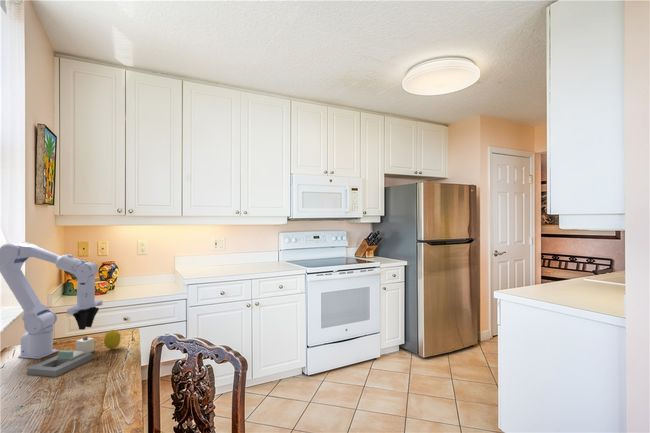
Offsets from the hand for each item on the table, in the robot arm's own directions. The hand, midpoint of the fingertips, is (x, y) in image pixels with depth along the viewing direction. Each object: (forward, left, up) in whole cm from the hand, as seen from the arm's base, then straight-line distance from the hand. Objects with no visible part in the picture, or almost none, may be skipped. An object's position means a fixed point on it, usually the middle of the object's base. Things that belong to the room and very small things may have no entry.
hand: (85, 328), depth 134 cm
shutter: (+3, -9, -7) cm, 12 cm away
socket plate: (+3, -13, -9) cm, 16 cm away
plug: (0, 0, -10) cm, 10 cm away
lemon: (+9, +4, -10) cm, 13 cm away
